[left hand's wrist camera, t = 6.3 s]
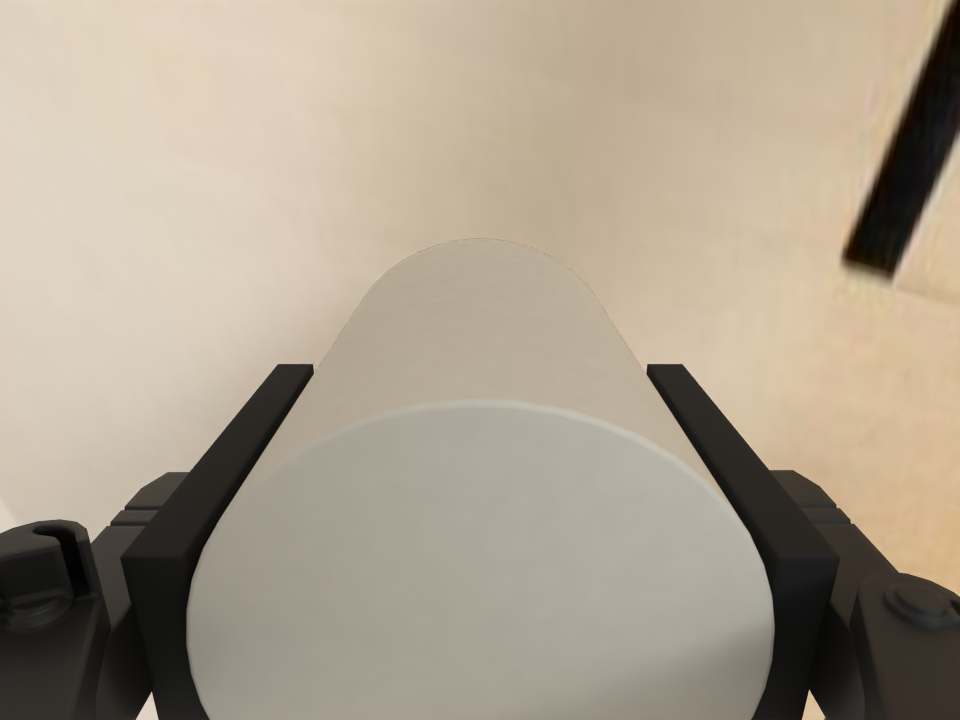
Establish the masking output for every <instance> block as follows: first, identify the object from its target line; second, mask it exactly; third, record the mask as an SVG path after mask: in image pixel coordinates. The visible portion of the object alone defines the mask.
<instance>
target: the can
mask: <svg viewBox="0 0 960 720" xmlns="http://www.w3.org/2000/svg"><path fill="white" fill-rule="evenodd" d="M774 633H775V624H774V612H773V601H772V593H771V590H770V586H769V582H768V578H767V574H766V571H765V567H764V564H763V561H762V559H761V557H760V555H759V553H758V551H757V548H756V546H755V544H754V542H753V540H752V537H751V535H750V533H749V532H748V530H747V529H746V527H745V526H744V524H743V523H742V521H741V520H740V518H739V516H738V515H737V513H736V512H735V510H734V509H733V507H732V506H731V504H730V503H729V501H728V499H727V498H726V496H725V495H724V493H723V492H722V490H721V489H720V487H719V486H718V484H717V482H716V481H715V479H714V478H713V476H712V475H711V473H710V472H709V470H708V469H707V467H706V466H705V464H704V462H703V461H702V459H701V458H700V456H699V455H698V453H697V452H696V450H695V449H694V447H693V445H692V444H691V442H690V441H689V439H688V438H687V436H686V435H685V433H684V432H683V430H682V428H681V427H680V425H679V424H678V422H677V421H676V419H675V418H674V416H673V415H672V413H671V412H670V410H669V408H668V407H667V405H666V404H665V402H664V401H663V399H662V398H661V396H660V395H659V393H658V391H657V390H656V388H655V387H654V385H653V384H652V382H651V381H650V379H649V378H648V376H647V374H646V373H645V371H644V370H643V368H642V367H641V365H640V364H639V362H638V361H637V359H636V357H635V356H634V354H633V353H632V351H631V350H630V348H629V347H628V345H627V344H626V342H625V341H624V339H623V337H622V336H621V334H620V333H619V331H618V330H617V328H616V327H615V325H614V324H613V322H612V320H611V319H610V317H609V316H608V314H607V313H606V311H605V310H604V308H603V307H602V305H601V304H600V302H599V301H598V299H597V298H596V296H595V295H594V293H593V292H592V291H591V289H590V288H589V287H588V286H587V285H586V284H585V283H584V282H583V281H582V279H581V278H580V277H578V276H577V275H576V274H575V273H574V272H572V271H571V270H570V269H569V268H568V267H567V266H565V265H563V264H562V263H560V262H559V261H557V260H556V259H554V258H552V257H551V256H549V255H547V254H545V253H542V252H540V251H538V250H536V249H534V248H531V247H528V246H524V245H521V244H518V243H515V242H509V241H503V240H497V239H466V240H456V241H451V242H447V243H443V244H439V245H435V246H433V247H430V248H427V249H425V250H422V251H419V252H417V253H416V254H414V255H412V256H410V257H408V258H406V259H404V260H403V261H401V262H400V263H398V264H397V265H396V266H394V267H393V268H392V269H390V270H389V271H387V272H386V273H385V274H384V275H383V276H382V277H381V278H380V279H379V280H378V281H377V282H376V283H375V284H374V285H373V286H372V288H371V289H370V290H369V291H368V293H367V294H366V295H365V296H364V298H363V299H362V301H361V302H360V304H359V305H358V307H357V308H356V310H355V311H354V313H353V314H352V316H351V318H350V319H349V321H348V322H347V324H346V325H345V327H344V328H343V330H342V331H341V333H340V335H339V336H338V338H337V339H336V341H335V342H334V344H333V345H332V347H331V348H330V350H329V351H328V353H327V355H326V356H325V358H324V359H323V361H322V362H321V364H320V365H319V367H318V368H317V370H316V372H315V373H314V375H313V376H312V378H311V379H310V381H309V382H308V384H307V385H306V387H305V389H304V390H303V392H302V393H301V395H300V396H299V398H298V399H297V401H296V402H295V404H294V405H293V407H292V409H291V410H290V412H289V413H288V415H287V416H286V418H285V419H284V421H283V422H282V424H281V426H280V427H279V429H278V430H277V432H276V433H275V435H274V436H273V438H272V439H271V441H270V443H269V444H268V446H267V447H266V449H265V450H264V452H263V453H262V455H261V456H260V458H259V459H258V461H257V463H256V464H255V466H254V467H253V469H252V470H251V472H250V473H249V475H248V476H247V478H246V480H245V481H244V483H243V484H242V486H241V487H240V489H239V490H238V492H237V493H236V495H235V497H234V498H233V500H232V501H231V503H230V504H229V506H228V507H227V509H226V510H225V512H224V513H223V515H222V517H221V518H220V520H219V522H218V523H217V525H216V527H215V529H214V530H213V532H212V534H211V536H210V537H209V539H208V541H207V543H206V544H205V546H204V548H203V550H202V553H201V556H200V559H199V561H198V564H197V567H196V570H195V572H194V575H193V578H192V582H191V588H190V594H189V599H188V605H187V619H186V645H187V651H188V658H189V664H190V670H191V675H192V678H193V681H194V684H195V687H196V690H197V693H198V696H199V699H200V702H201V704H202V706H203V708H204V709H205V711H206V713H207V715H208V717H209V719H210V720H751V719H752V717H753V715H754V713H755V711H756V708H757V706H758V704H759V701H760V699H761V697H762V694H763V692H764V690H765V687H766V683H767V679H768V675H769V671H770V667H771V663H772V657H773V645H774Z"/></svg>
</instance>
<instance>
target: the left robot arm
mask: <svg viewBox="0 0 960 720" xmlns="http://www.w3.org/2000/svg"><path fill="white" fill-rule="evenodd" d="M313 375H314V370H313V364H278V365H277V366H276V367H275V369H274V370H273V371H272V372H271V374H270V375H269V376H268V377H267V378H266V380H265V381H264V382H263V383H262V385H261V386H260V387H259V388H258V389H257V391H256V392H255V393H254V394H253V396H252V397H251V398H250V399H249V400H248V402H247V403H246V404H245V405H244V407H243V408H242V409H241V410H240V411H239V413H238V414H237V415H236V416H235V418H234V419H233V420H232V421H231V422H230V424H229V425H228V426H227V427H226V429H225V430H224V431H223V432H222V433H221V435H220V436H219V437H218V438H217V440H216V441H215V442H214V443H213V444H212V446H211V447H210V448H209V449H208V451H207V452H206V453H205V454H204V455H203V457H202V458H201V459H200V460H199V462H198V463H197V464H196V465H195V466H194V468H193V469H192V470H191V471H190V472H168V473H166V474H164V475H163V476H161V477H159V478H158V479H156V480H154V481H153V482H151V483H149V484H148V485H146V486H144V487H143V488H141V489H140V491H139V492H138V493H137V494H136V495H135V496H134V497H133V498H132V499H131V500H130V501H129V503H128V504H127V505H126V506H125V510H121V511H120V512H119V514H118V515H117V516H116V517H115V518H114V519H113V520H112V521H111V525H110V526H107V527H106V528H105V529H104V530H103V531H102V532H101V533H100V534H99V535H98V537H97V538H96V539H95V540H94V541H93V542H92V543H91V544H90V540H89V536H88V532H87V529H86V528H85V527H83V526H82V525H80V524H79V523H78V522H74V521H67V520H60V519H59V520H48V521H38V522H34V523H30V524H26V525H23V526H19V527H15V528H12V529H10V530H7V531H5V532H3V533H0V720H136V718H137V716H138V714H139V713H140V711H141V709H142V708H143V706H144V704H145V702H146V701H147V699H148V697H149V695H150V694H151V692H152V694H153V698H154V702H155V706H156V710H157V715H158V719H159V720H210V719H209V717H208V715H207V713H206V711H205V709H204V708H203V706H202V704H201V702H200V699H199V696H198V693H197V690H196V687H195V684H194V681H193V678H192V675H191V670H190V664H189V658H188V651H187V645H186V619H187V605H188V599H189V594H190V588H191V582H192V578H193V575H194V572H195V570H196V567H197V564H198V561H199V559H200V556H201V553H202V550H203V548H204V546H205V544H206V543H207V541H208V539H209V537H210V536H211V534H212V532H213V530H214V529H215V527H216V525H217V523H218V522H219V520H220V518H221V517H222V515H223V513H224V512H225V510H226V509H227V507H228V506H229V504H230V503H231V501H232V500H233V498H234V497H235V495H236V493H237V492H238V490H239V489H240V487H241V486H242V484H243V483H244V481H245V480H246V478H247V476H248V475H249V473H250V472H251V470H252V469H253V467H254V466H255V464H256V463H257V461H258V459H259V458H260V456H261V455H262V453H263V452H264V450H265V449H266V447H267V446H268V444H269V443H270V441H271V439H272V438H273V436H274V435H275V433H276V432H277V430H278V429H279V427H280V426H281V424H282V422H283V421H284V419H285V418H286V416H287V415H288V413H289V412H290V410H291V409H292V407H293V405H294V404H295V402H296V401H297V399H298V398H299V396H300V395H301V393H302V392H303V390H304V389H305V387H306V385H307V384H308V382H309V381H310V379H311V378H312V376H313ZM647 376H648V378H649V379H650V381H651V382H652V384H653V385H654V387H655V388H656V390H657V391H658V393H659V395H660V396H661V398H662V399H663V401H664V402H665V404H666V405H667V407H668V408H669V410H670V412H671V413H672V415H673V416H674V418H675V419H676V421H677V422H678V424H679V425H680V427H681V428H682V430H683V432H684V433H685V435H686V436H687V438H688V439H689V441H690V442H691V444H692V445H693V447H694V449H695V450H696V452H697V453H698V455H699V456H700V458H701V459H702V461H703V462H704V464H705V466H706V467H707V469H708V470H709V472H710V473H711V475H712V476H713V478H714V479H715V481H716V482H717V484H718V486H719V487H720V489H721V490H722V492H723V493H724V495H725V496H726V498H727V499H728V501H729V503H730V504H731V506H732V507H733V509H734V510H735V512H736V513H737V515H738V516H739V518H740V520H741V521H742V523H743V524H744V526H745V527H746V529H747V530H748V532H749V533H750V535H751V537H752V540H753V542H754V544H755V546H756V548H757V551H758V553H759V555H760V557H761V559H762V561H763V564H764V567H765V571H766V574H767V578H768V582H769V586H770V590H771V593H772V601H773V612H774V624H775V633H774V645H773V657H772V663H771V667H770V671H769V675H768V679H767V683H766V687H765V690H764V692H763V694H762V697H761V699H760V701H759V704H758V706H757V708H756V711H755V713H754V715H753V717H752V719H751V720H802V717H803V712H804V708H805V704H806V700H807V696H808V692H809V689H810V691H811V693H812V695H813V696H814V698H815V700H816V702H817V703H818V705H819V707H820V709H821V710H822V712H823V714H824V716H825V719H824V720H960V597H959V596H958V595H956V594H955V593H954V592H952V591H950V590H948V589H946V588H944V587H942V586H940V585H938V584H936V583H934V582H932V581H930V580H926V579H923V578H920V577H916V576H913V575H910V574H905V573H899V572H898V571H897V570H896V569H895V568H894V567H893V566H892V565H891V563H890V562H889V561H888V560H887V559H886V558H885V557H884V556H883V555H882V554H881V553H880V552H879V550H878V549H877V548H876V547H875V546H874V545H873V544H872V543H871V542H870V541H869V540H868V538H867V537H866V536H865V535H864V534H863V533H862V532H861V531H860V530H859V529H858V528H857V527H856V525H855V524H851V522H850V519H849V518H848V517H847V516H846V515H845V513H844V512H843V511H842V510H841V509H840V508H837V507H836V504H835V503H834V502H833V500H832V499H831V498H830V497H829V496H828V495H827V494H826V493H825V492H824V491H823V490H822V488H821V487H820V486H818V485H817V484H815V483H813V482H812V481H810V480H808V479H807V478H805V477H803V476H802V475H800V474H798V473H797V472H795V471H793V470H768V468H767V467H766V466H765V465H764V463H763V462H762V461H761V460H760V459H759V457H758V456H757V455H756V454H755V452H754V451H753V450H752V449H751V448H750V446H749V445H748V444H747V443H746V441H745V440H744V439H743V438H742V437H741V435H740V434H739V433H738V432H737V430H736V429H735V428H734V427H733V426H732V424H731V423H730V422H729V421H728V419H727V418H726V417H725V416H724V415H723V413H722V412H721V411H720V410H719V408H718V407H717V406H716V405H715V404H714V402H713V401H712V400H711V399H710V397H709V396H708V395H707V394H706V393H705V391H704V390H703V389H702V388H701V386H700V385H699V384H698V383H697V382H696V380H695V379H694V378H693V377H692V375H691V374H690V373H689V372H688V371H687V369H686V368H685V367H684V366H683V364H647Z"/></svg>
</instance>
